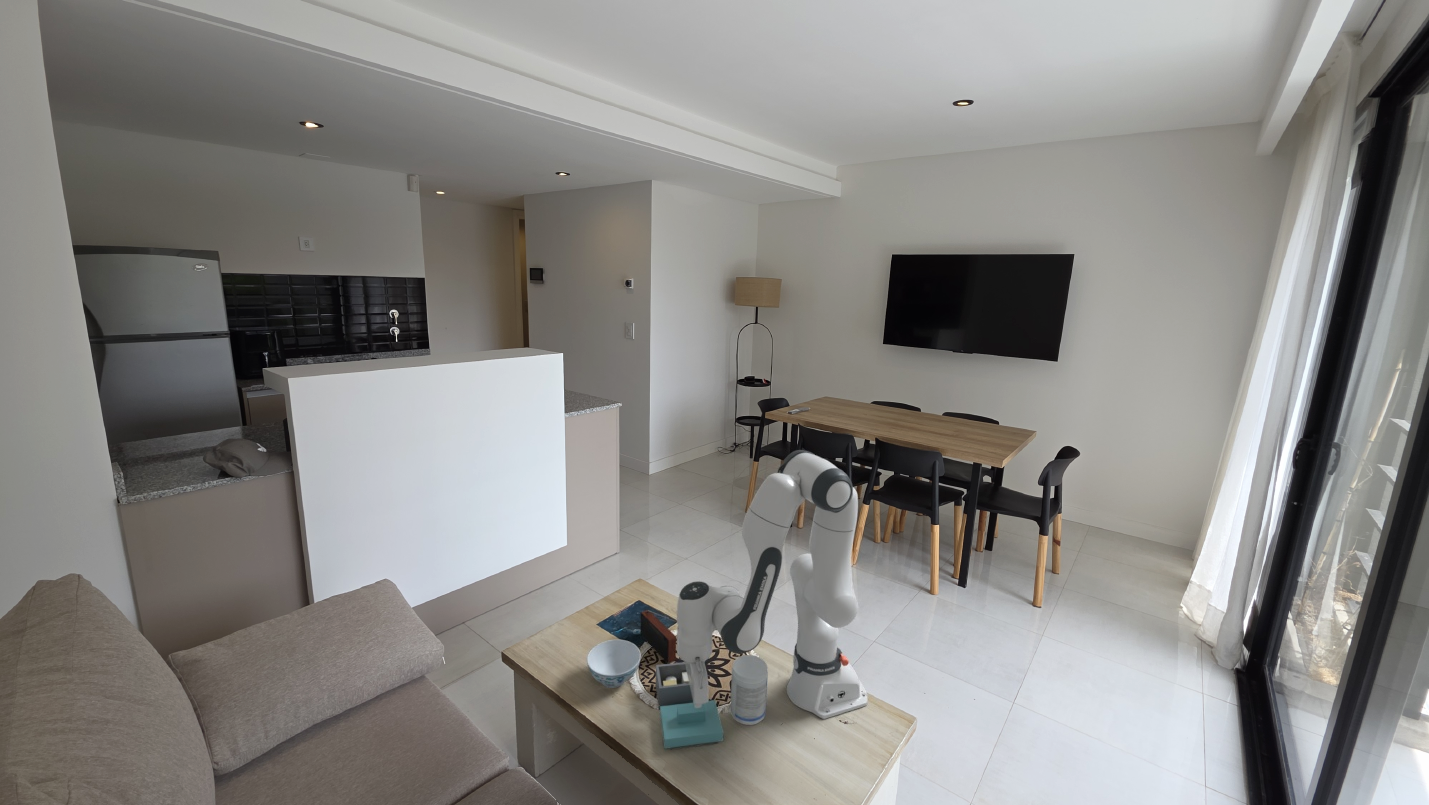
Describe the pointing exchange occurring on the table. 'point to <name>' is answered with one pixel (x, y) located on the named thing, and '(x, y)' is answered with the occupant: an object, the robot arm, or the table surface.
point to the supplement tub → (749, 689)
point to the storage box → (672, 685)
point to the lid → (690, 724)
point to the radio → (658, 636)
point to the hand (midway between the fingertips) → (694, 691)
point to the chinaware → (613, 662)
